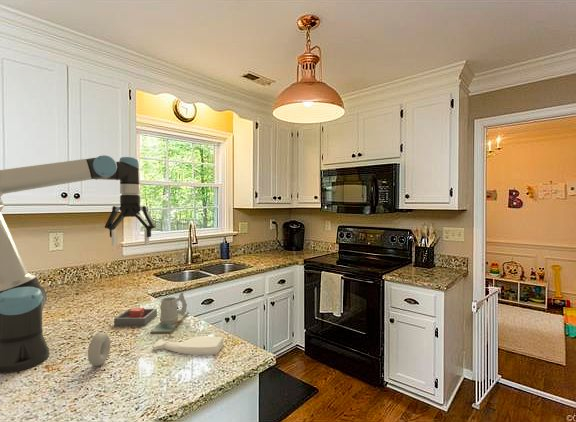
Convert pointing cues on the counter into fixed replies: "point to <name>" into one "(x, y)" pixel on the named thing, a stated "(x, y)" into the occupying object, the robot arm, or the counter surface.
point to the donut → (99, 349)
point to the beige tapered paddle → (192, 345)
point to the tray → (126, 321)
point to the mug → (172, 309)
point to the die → (136, 313)
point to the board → (168, 325)
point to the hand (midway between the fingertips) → (130, 245)
